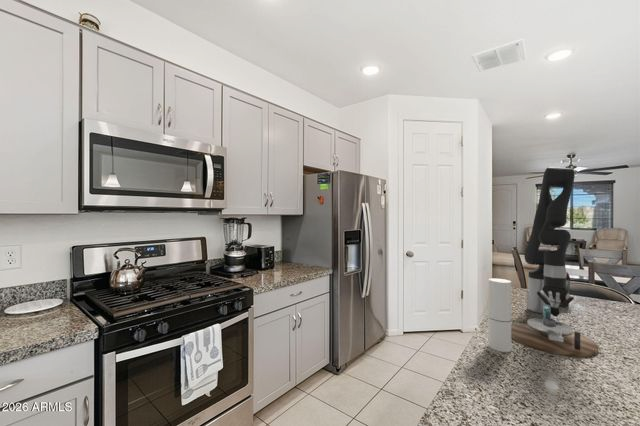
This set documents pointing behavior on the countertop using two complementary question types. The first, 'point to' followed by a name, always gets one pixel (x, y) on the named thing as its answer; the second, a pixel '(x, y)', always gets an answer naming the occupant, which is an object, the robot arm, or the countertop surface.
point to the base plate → (554, 342)
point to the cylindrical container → (500, 314)
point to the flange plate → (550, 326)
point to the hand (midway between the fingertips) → (555, 315)
